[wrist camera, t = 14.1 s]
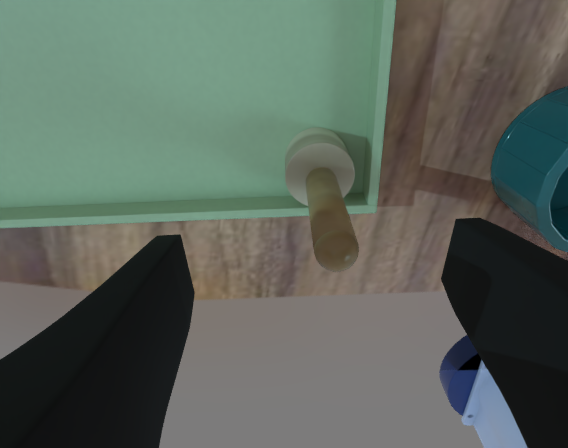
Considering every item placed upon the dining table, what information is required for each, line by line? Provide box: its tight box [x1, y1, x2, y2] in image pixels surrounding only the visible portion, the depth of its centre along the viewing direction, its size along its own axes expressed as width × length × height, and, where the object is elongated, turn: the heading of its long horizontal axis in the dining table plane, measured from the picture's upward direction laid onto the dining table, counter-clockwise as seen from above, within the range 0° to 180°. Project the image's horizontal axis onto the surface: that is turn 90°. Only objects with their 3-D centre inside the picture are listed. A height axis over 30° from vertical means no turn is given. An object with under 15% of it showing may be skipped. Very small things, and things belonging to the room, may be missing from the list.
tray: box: [0, 0, 396, 228], centre depth 17 cm, size 13×25×2 cm, turn 93°
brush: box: [285, 127, 359, 272], centre depth 15 cm, size 3×3×9 cm
